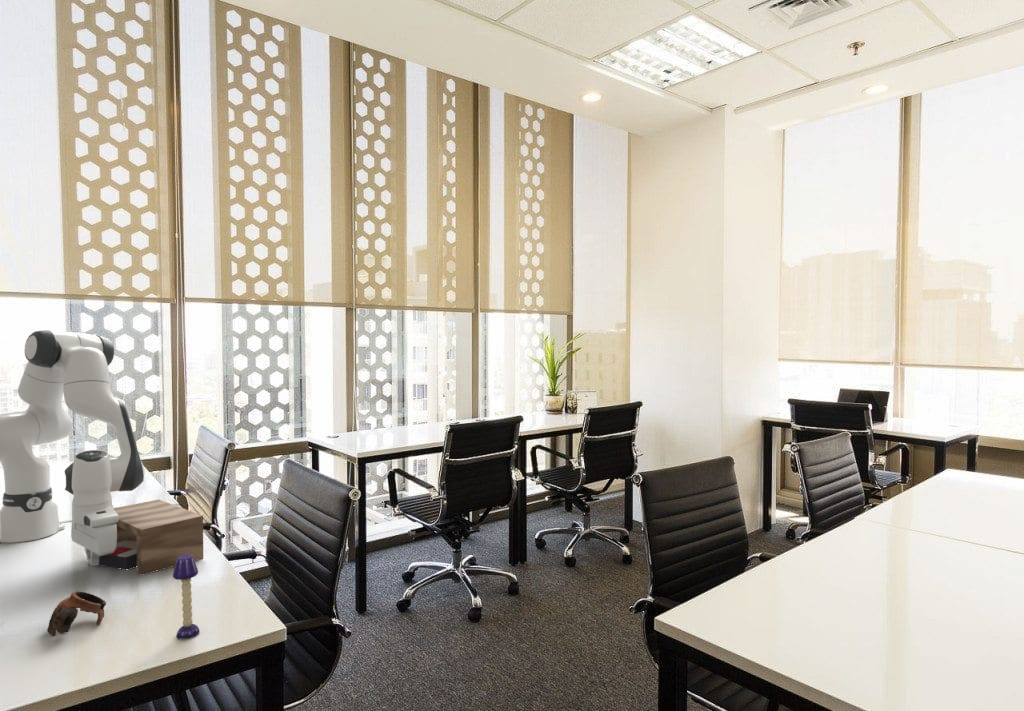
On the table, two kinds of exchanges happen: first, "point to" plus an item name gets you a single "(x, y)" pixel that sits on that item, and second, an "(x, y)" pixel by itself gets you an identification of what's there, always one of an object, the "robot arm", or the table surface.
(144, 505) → the monitor riser
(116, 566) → the calculator
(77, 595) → the brown curved loop
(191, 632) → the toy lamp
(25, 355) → the robot arm
